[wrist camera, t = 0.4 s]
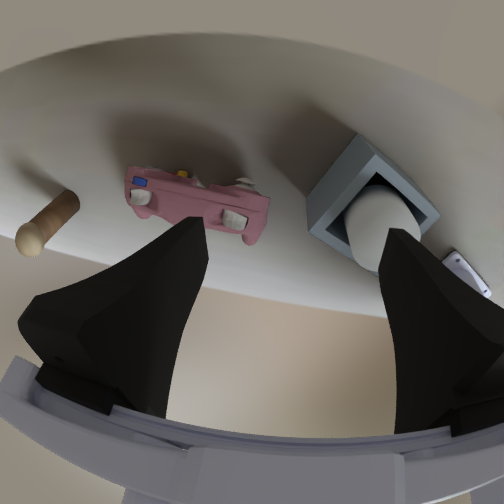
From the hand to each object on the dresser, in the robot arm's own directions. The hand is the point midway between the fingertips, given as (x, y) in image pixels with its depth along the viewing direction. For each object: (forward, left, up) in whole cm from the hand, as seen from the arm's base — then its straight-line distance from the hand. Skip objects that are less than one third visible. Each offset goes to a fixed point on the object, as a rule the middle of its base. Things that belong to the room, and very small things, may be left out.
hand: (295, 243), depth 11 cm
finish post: (+15, +13, -10) cm, 23 cm away
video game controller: (+4, +6, -10) cm, 12 cm away
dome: (-5, -1, -7) cm, 9 cm away
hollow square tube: (-5, -1, -10) cm, 11 cm away
